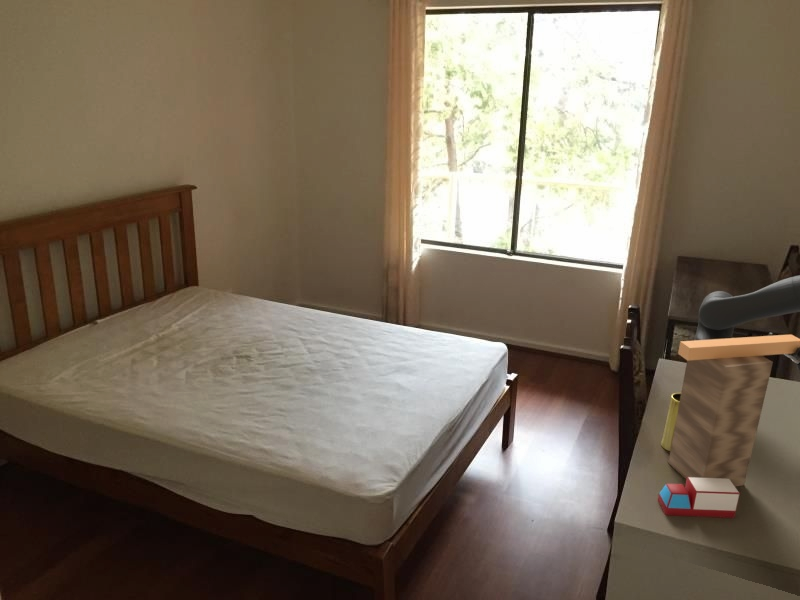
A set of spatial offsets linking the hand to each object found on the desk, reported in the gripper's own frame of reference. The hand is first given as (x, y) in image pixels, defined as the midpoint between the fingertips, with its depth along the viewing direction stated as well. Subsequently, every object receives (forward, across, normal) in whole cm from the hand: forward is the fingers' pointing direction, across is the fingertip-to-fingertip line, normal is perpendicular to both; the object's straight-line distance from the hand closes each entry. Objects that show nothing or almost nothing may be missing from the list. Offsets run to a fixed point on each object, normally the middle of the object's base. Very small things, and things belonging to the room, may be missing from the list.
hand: (782, 343), depth 151 cm
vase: (-5, -12, +36) cm, 38 cm away
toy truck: (+5, +11, +41) cm, 43 cm away
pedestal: (-5, 0, +36) cm, 36 cm away
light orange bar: (+10, 0, +7) cm, 12 cm away
